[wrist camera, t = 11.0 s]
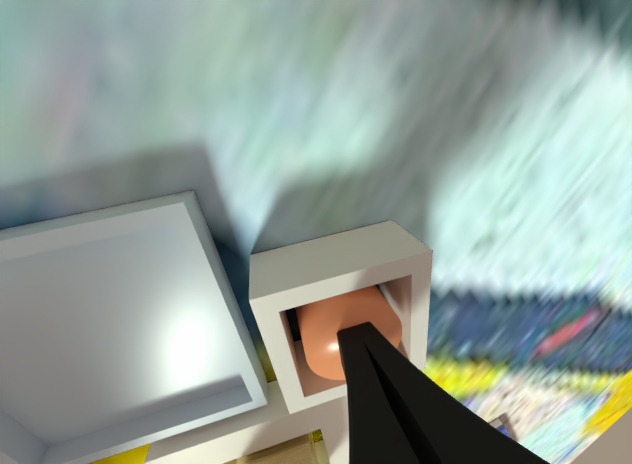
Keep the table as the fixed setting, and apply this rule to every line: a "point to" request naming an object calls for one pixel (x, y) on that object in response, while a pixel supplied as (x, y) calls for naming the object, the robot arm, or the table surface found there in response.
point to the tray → (118, 333)
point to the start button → (342, 326)
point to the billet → (285, 452)
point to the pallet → (259, 433)
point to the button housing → (331, 280)
